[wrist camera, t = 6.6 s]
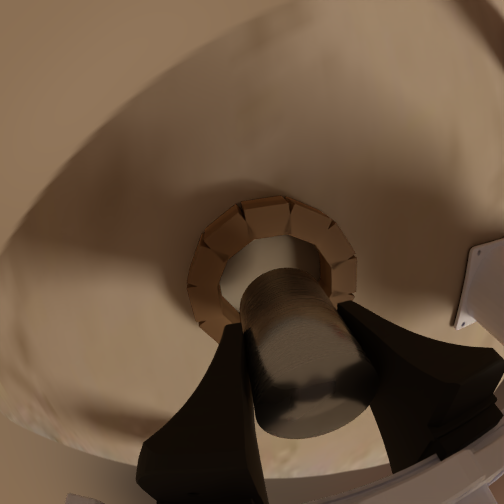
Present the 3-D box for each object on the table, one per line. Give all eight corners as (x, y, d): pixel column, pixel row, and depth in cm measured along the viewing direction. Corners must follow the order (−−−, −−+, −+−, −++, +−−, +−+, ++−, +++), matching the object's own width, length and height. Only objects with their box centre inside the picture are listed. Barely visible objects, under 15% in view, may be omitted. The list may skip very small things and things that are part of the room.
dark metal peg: (322, 260, 13) (388, 342, 7) (323, 331, 14) (369, 420, 9) (233, 275, 13) (246, 375, 7) (245, 346, 14) (262, 447, 8)
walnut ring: (340, 187, 15) (355, 194, 14) (342, 321, 19) (353, 338, 17) (176, 212, 15) (170, 222, 13) (210, 346, 18) (210, 367, 16)
